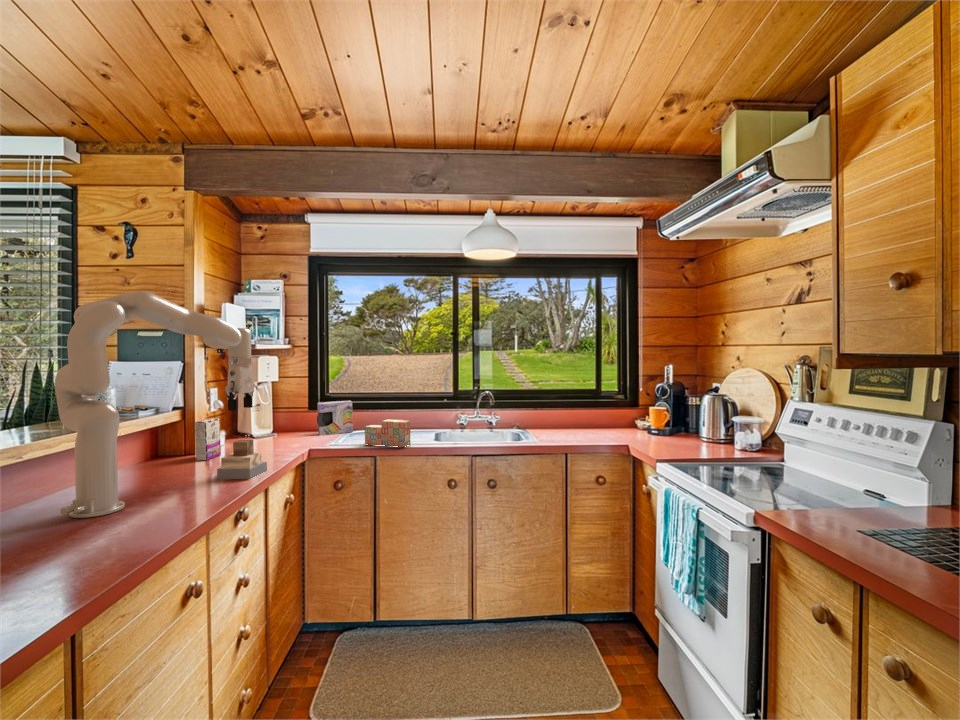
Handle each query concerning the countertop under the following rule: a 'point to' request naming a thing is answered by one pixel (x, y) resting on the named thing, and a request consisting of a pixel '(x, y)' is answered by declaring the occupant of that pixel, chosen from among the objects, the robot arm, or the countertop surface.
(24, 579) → the countertop surface
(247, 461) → the pale birch block
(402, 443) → the stack of blocks
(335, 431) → the cake pan box
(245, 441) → the walnut cube
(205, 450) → the candy bar box
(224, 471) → the slate base block
